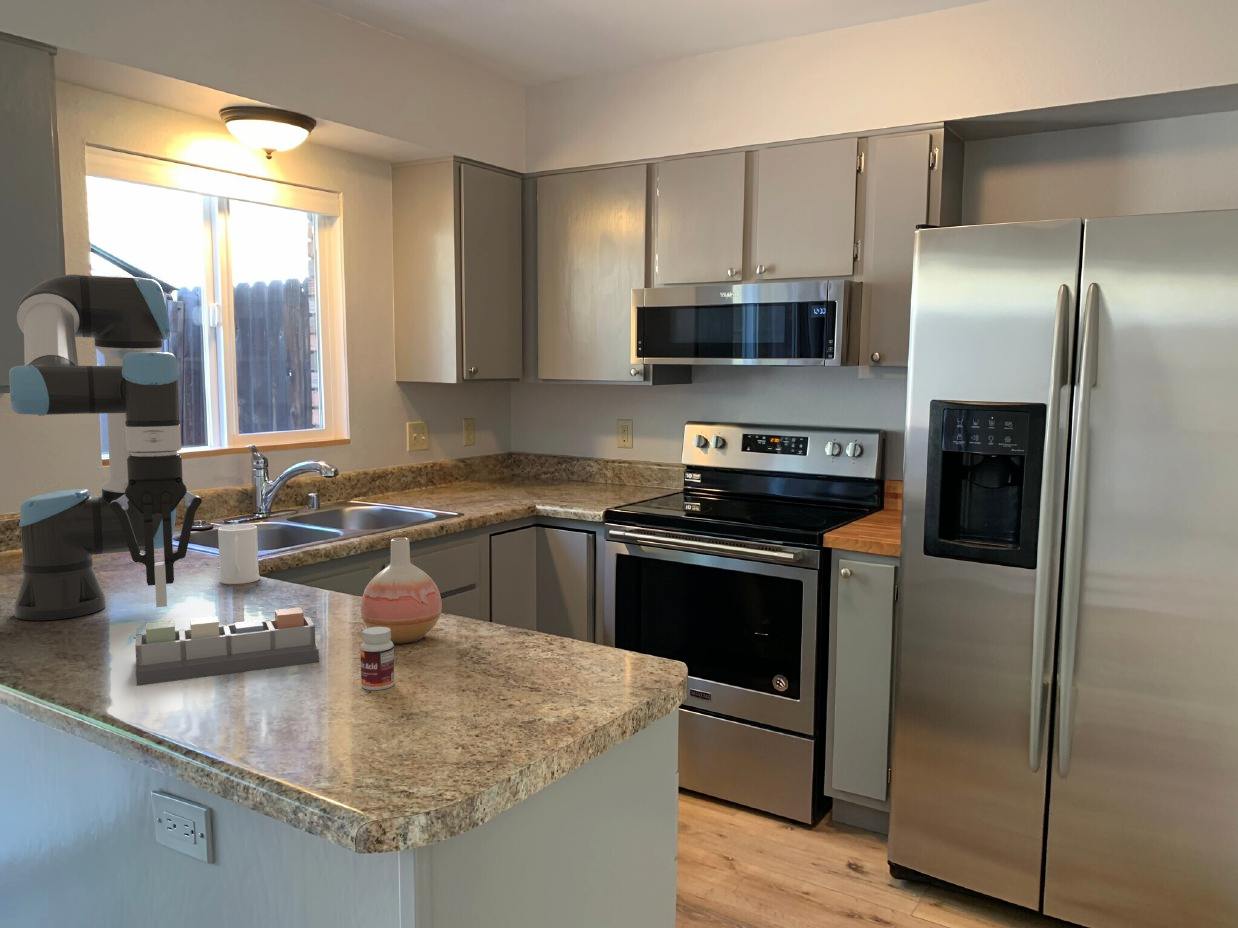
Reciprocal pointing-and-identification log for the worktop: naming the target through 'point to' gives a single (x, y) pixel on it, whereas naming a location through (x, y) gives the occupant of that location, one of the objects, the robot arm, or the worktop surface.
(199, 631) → the key cream
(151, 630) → the key sage
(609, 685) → the worktop surface
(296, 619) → the key rust
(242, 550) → the mug
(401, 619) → the vase
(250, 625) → the key slate
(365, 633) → the pill bottle
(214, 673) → the grey slotted tray
